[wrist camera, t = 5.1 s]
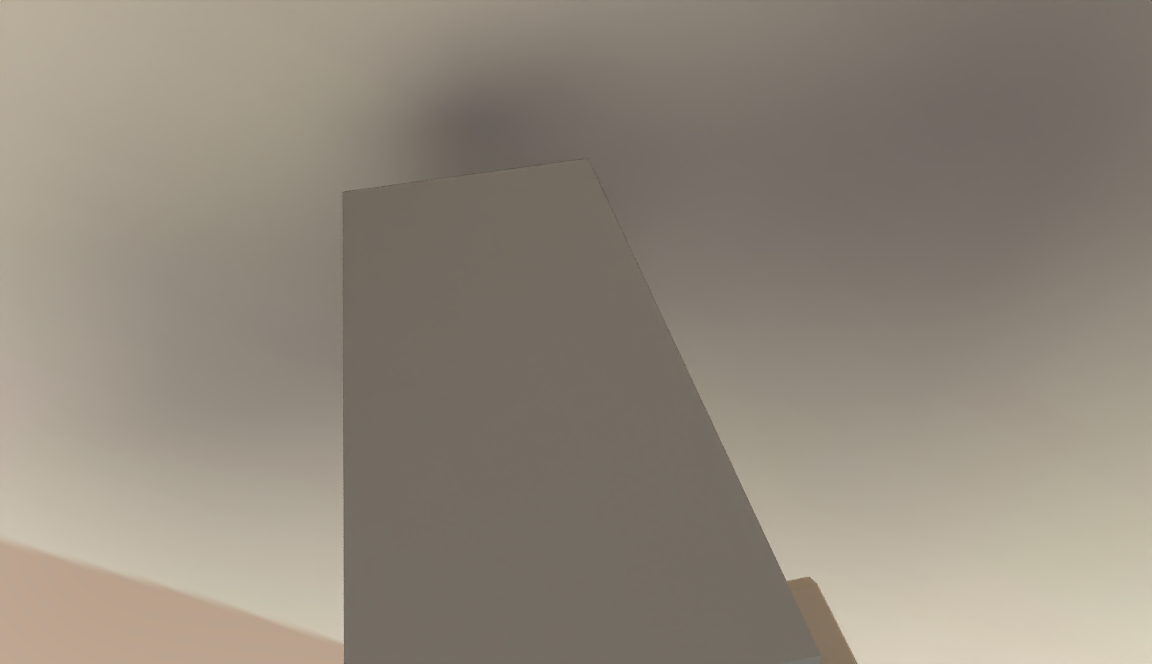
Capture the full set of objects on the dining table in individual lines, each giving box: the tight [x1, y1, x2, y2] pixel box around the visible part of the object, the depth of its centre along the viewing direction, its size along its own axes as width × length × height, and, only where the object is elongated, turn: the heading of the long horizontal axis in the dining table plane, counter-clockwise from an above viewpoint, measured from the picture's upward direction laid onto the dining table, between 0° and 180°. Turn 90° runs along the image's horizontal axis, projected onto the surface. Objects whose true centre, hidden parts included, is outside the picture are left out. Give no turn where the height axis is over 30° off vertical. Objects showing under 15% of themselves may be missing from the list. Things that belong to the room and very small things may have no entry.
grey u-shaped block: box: [343, 158, 821, 664], centre depth 12 cm, size 3×8×8 cm, turn 3°
